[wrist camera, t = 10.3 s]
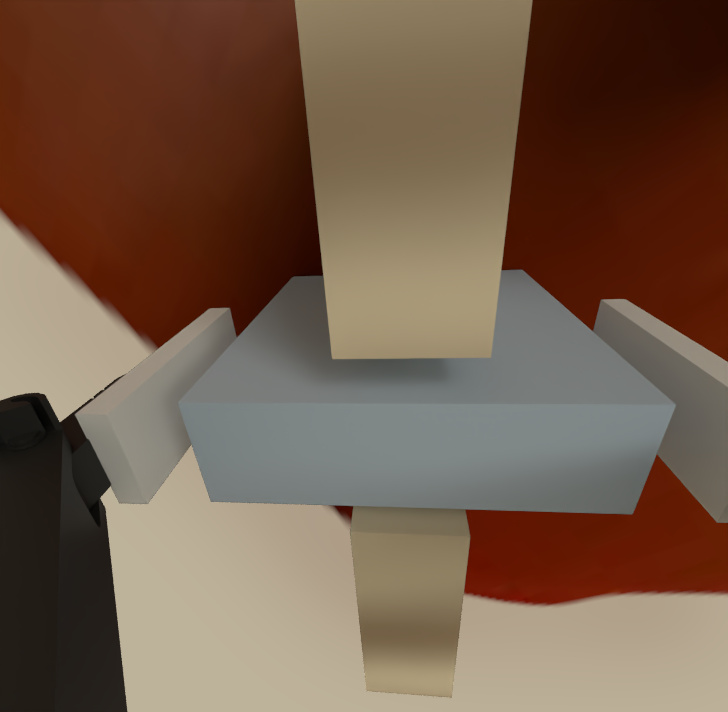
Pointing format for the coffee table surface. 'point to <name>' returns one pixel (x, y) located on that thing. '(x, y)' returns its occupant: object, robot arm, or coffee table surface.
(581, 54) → the coffee table surface
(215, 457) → the bridge plate
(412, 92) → the maple rail
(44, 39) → the coffee table surface
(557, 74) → the coffee table surface
